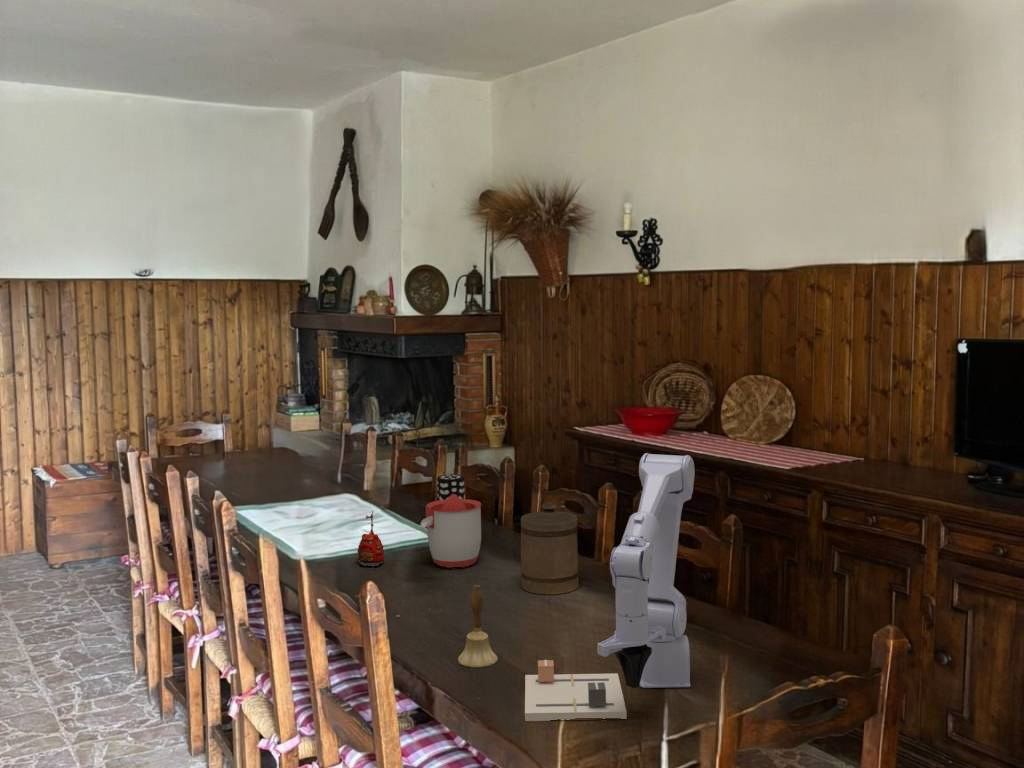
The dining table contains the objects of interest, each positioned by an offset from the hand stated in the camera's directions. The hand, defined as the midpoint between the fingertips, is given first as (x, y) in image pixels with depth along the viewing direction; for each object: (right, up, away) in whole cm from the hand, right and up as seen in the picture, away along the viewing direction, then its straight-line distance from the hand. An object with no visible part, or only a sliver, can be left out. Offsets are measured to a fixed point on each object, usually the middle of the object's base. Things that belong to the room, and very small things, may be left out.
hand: (632, 685), depth 173 cm
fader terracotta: (-15, -2, +12) cm, 19 cm away
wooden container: (-12, +2, +76) cm, 76 cm away
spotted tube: (-40, +6, +123) cm, 129 cm away
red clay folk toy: (-61, +3, +99) cm, 117 cm away
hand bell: (-29, -3, +27) cm, 40 cm away
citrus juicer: (-38, +3, +98) cm, 105 cm away
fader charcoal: (-6, -3, 0) cm, 7 cm away
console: (-10, -5, +6) cm, 13 cm away
